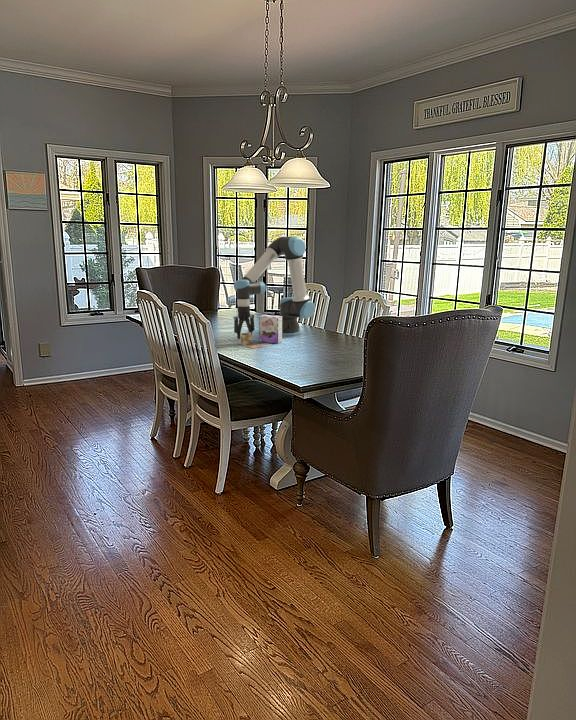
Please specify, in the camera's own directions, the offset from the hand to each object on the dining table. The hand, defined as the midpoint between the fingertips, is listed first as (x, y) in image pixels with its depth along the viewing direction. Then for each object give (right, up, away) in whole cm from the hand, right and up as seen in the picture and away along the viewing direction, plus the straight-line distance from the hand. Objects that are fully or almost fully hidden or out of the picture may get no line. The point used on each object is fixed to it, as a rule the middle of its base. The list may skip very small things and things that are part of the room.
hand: (244, 343), depth 325 cm
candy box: (+16, +1, +6) cm, 17 cm away
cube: (0, 0, 0) cm, 1 cm away
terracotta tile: (+6, -3, -8) cm, 11 cm away
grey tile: (+12, -1, -4) cm, 13 cm away
